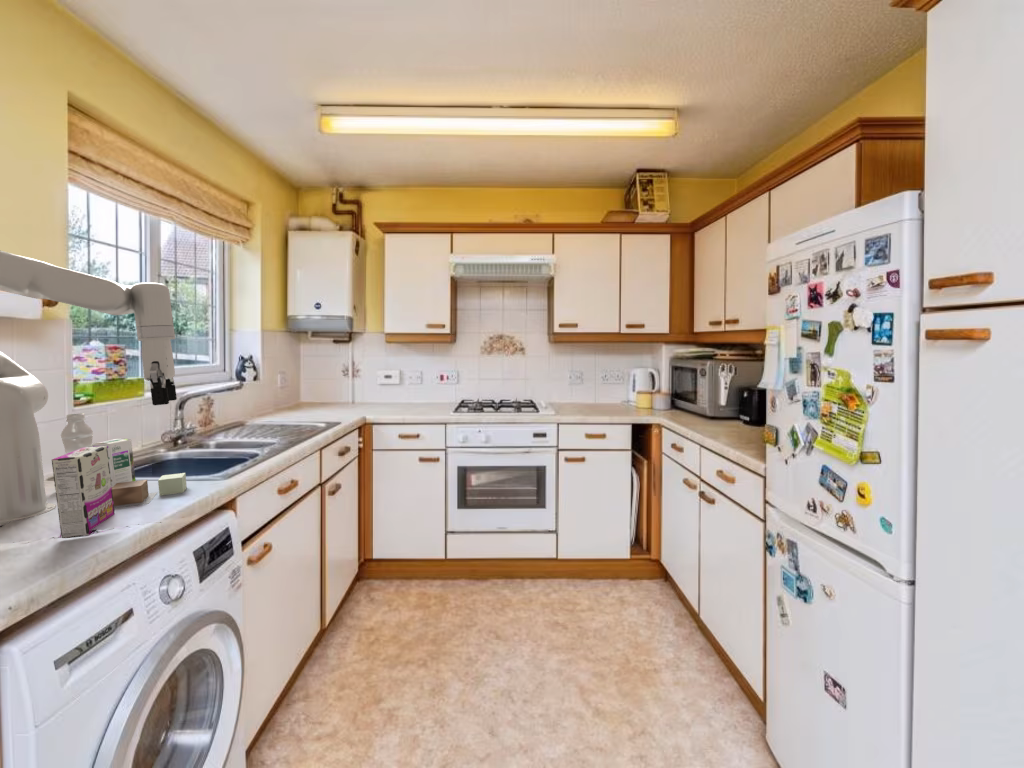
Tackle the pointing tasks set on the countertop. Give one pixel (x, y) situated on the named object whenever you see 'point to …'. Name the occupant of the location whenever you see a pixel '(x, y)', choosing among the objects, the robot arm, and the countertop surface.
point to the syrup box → (119, 460)
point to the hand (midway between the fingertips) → (165, 402)
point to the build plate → (146, 501)
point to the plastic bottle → (76, 433)
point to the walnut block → (130, 492)
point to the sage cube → (172, 484)
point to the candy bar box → (83, 490)
